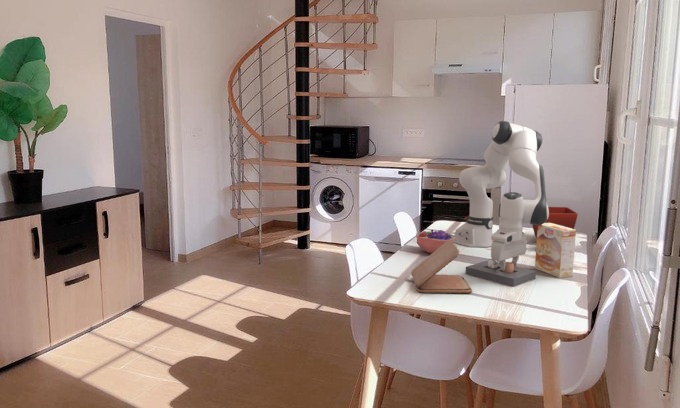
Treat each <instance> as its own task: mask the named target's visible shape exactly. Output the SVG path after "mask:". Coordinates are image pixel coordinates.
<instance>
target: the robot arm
mask: <svg viewBox="0 0 680 408" xmlns="http://www.w3.org/2000/svg"><path fill="white" fill-rule="evenodd" d="M491 139H492V140H491V142H490V144H489V145H488V147H487V148H486V150H485V152H484V153H483V159H484V161H485V163H484V165H482V166H470V167H468V168H464V169H463V170H461V172H460V173H459V178H458V180H459V184H460V185H461V187H462V188H464V190H465V191H466V193H467V195H468V199H469V215H467V216H465V217H464V220H466V221H465V222H464V223H463V224H461V225H460V226H459V227H457V228H456V229H455V232H454V236H456V237H455V239H454V242H453V244H454V243H455V244H459V245H462V246H465V247H469V248H472V247H473V248H474V247H476V248H487V247H488V248H489V247H491V248H490V259H492V260H494V261H498V263H500V269H501V270H506V266H505V262H507V261H506V260H509V259H511V261H510V263H513V264H514V267H517V263H518V260H519V257H520V256H522V255H526V252H527V238H526V235H525V234H526V233H524V231H523V230H524V229H523V228H524V227H523V224H527V225H528V224H529V225H538V226H540V225H542V224H544V223H545V222H546V221H547V219H548V217H549V209H548V207H549V205H548V202H547V190H546V189H547V188H546V179H545V172H544V171H545V170H544V168H543V166H542V165H541V164H539V162H538V160H537V153H538V151H539V150H540V148H541V147H542V144H543V136H542V134H541V133H540V132H539V131H537V130H534V129H531V128H529V127H526V126H525V125H520V124H517V123H512V122H509V121H506V120H501V121H499V122H497V123H496V124H495V126H494V127H493V129H492V132H491ZM507 162H508V166H509V168H510V170H511V171H512V172H514V173H515V174H516V175H518V176H520V177H523V178H525V179H528V180H530V181H531V182H533V184H534V190H535V199H524V197H523V194H522V193H519V192H514V191H513V192H512V191H511V192H506V193H504V194H502V197H501V203H500V204H499V205H498V206H499V207H498V217H499V218H500V222H499V225H498V229H497V230H496V231H495V232H494V233H493V226H494V216H493V211H494V210H493V209H494V208H493V207H494V201H493V199H492V198H490V197H488V195H487V190H488V189H495V188H498V187H501V186H503V185H504V184H505V182H506V179H507V174H506V171H505V167H506V164H507ZM486 189H487V190H486Z"/></svg>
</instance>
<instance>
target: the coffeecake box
mask: <svg viewBox="0 0 680 408" xmlns="http://www.w3.org/2000/svg"><path fill="white" fill-rule="evenodd" d="M576 233H577V229H575V228H574V229H571V228H568V227H564V226H561V225H557V224H553V223H544V224H542V225H540V226H538V228H537V239H536V241H535V242H536V246H535V257H534V258H535V259H534V269H536V270H538V271H541V272H544V273H546V274H548V275H551V276H554V277H556V278H560V279H561V278H569V277H573V273H574V261H575V246H576Z"/></svg>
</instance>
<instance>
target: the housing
mask: <svg viewBox="0 0 680 408" xmlns="http://www.w3.org/2000/svg"><path fill="white" fill-rule="evenodd" d="M465 275H468V276H471V277H476V278H480V279H483V280H486V281H487V280H488V281H491V282H494V283H498V284H502V285H505V286H509V287H517V286H520V285H521V284H525V283H527V282H531V281H533V280H536V275H537V271H536V270H533V269H532V270H531V269H527V268H525V267H523V268H522V267H518V266H516V267H514V273H511V274H510V273H506V272H503V270H501V269H500V263H499V262H498V269H496V270H493V269H489V268H488V259H487V260H485V261H482V262H478V263H475V264H471V265H468V266H465Z"/></svg>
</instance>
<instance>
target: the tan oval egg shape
mask: <svg viewBox="0 0 680 408" xmlns="http://www.w3.org/2000/svg"><path fill="white" fill-rule="evenodd" d="M505 266H506V270H503V272H506V273H510V274H511V273H514V264H513V263H511V261H510V262H509V261H508V262H507V261H505Z"/></svg>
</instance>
